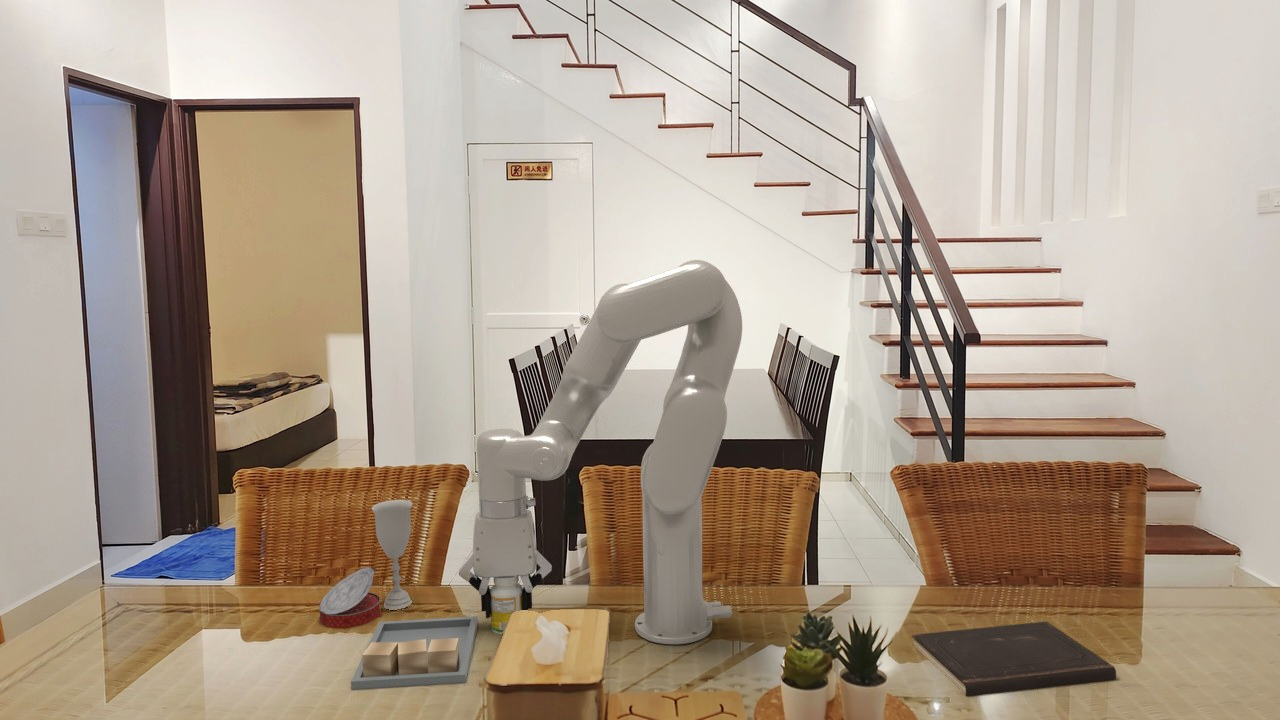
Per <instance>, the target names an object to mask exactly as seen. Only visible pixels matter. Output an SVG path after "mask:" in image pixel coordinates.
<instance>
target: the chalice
mask: <svg viewBox="0 0 1280 720" xmlns="http://www.w3.org/2000/svg"><path fill="white" fill-rule="evenodd" d="M412 507H413V502H412V501H411V500H406V499H395V500H394V499H393V500H392V499H391V500H386V501H382V502H378V503H375V504H374V505H373V506H371V510H372V512H373V514H374V518H375V519H374V520H375V521H374V523H375V536H376V538H377V541H378V543H379V546H380V547H381V549H382V551H383V552H384V554H385V556H386V557H387V558H389V559H392V566H391V568H390V569H391V570H392V573H393V575H392V577H391V581H393V588H392V590H390V591H389V592H388V593H387V595H386V598H385V600H384V604H383V605H384V607H385V608H386V609H389V610H388V611H390V610H397V609H401V608H405V607H406V606H408V605H410V604H411V603H412V602H413V601H412V600H411V597H410V595H409V593H408V592H407V590H405V589H402V587H401V586H400V581H401V579H402V576H400V573H399V572H400V569H401V566H400V564H399V558H400V557H402V556H403V555H404V553H405V550H406V548H407V546H408V543H409V541H410V537H411V533H412V524H411V523H412V522H411V521H412V520H411V510H412ZM386 609H385V610H386ZM397 611H398V610H397Z"/></svg>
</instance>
